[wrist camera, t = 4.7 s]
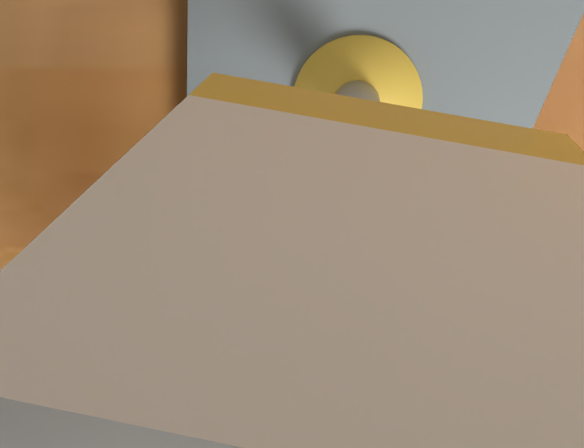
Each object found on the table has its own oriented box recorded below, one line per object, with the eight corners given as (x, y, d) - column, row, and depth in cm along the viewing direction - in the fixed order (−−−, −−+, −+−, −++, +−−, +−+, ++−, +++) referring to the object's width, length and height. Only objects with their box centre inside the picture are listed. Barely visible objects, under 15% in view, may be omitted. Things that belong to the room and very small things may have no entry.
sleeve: (451, 372, 10) (532, 800, 5) (202, 323, 10) (50, 687, 5) (567, 135, 7) (1029, 611, 2) (212, 72, 7) (-111, 374, 2)
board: (409, 388, 25) (417, 481, 21) (190, 344, 25) (155, 427, 21) (589, -36, 14) (685, -20, 10) (199, -99, 14) (130, -109, 10)
